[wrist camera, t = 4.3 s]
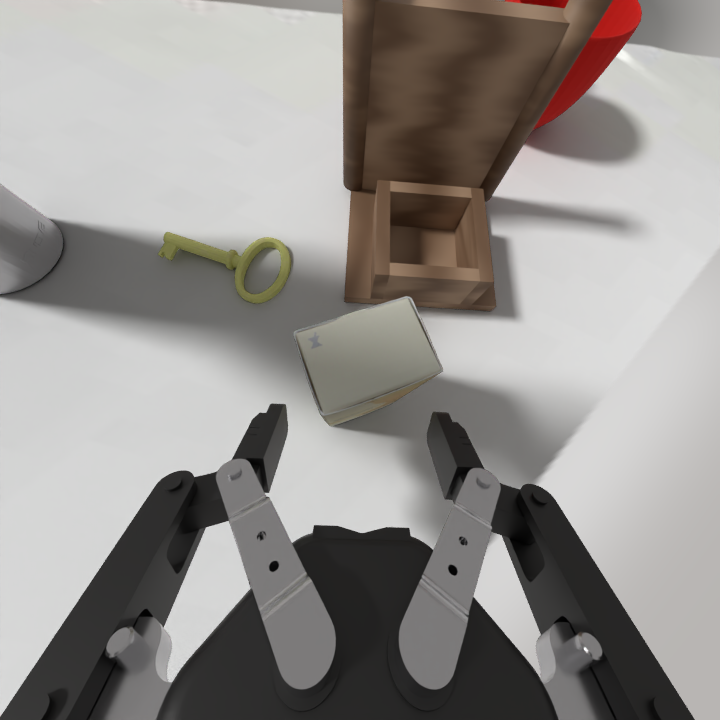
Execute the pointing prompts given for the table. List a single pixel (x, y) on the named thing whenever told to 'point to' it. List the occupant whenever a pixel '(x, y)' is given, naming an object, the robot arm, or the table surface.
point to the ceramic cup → (591, 52)
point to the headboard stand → (441, 134)
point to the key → (234, 261)
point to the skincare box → (366, 359)
